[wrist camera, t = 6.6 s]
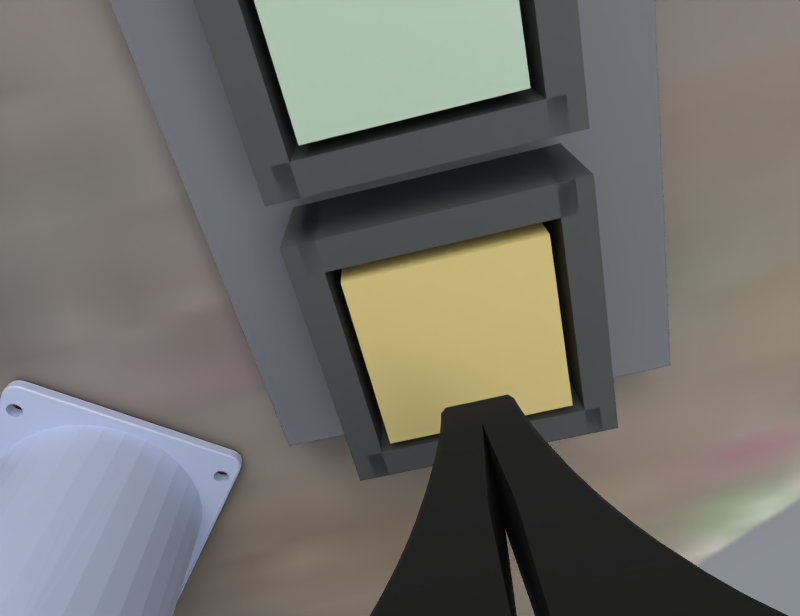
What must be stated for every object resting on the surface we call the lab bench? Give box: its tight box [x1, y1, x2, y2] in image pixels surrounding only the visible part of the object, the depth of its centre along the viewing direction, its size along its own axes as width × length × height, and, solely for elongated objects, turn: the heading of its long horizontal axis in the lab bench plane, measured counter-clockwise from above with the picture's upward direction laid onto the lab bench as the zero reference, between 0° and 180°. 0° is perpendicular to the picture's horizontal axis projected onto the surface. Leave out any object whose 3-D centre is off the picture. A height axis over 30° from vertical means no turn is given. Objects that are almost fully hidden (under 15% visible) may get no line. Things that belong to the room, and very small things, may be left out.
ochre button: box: [341, 222, 573, 444], centre depth 17 cm, size 5×5×2 cm
